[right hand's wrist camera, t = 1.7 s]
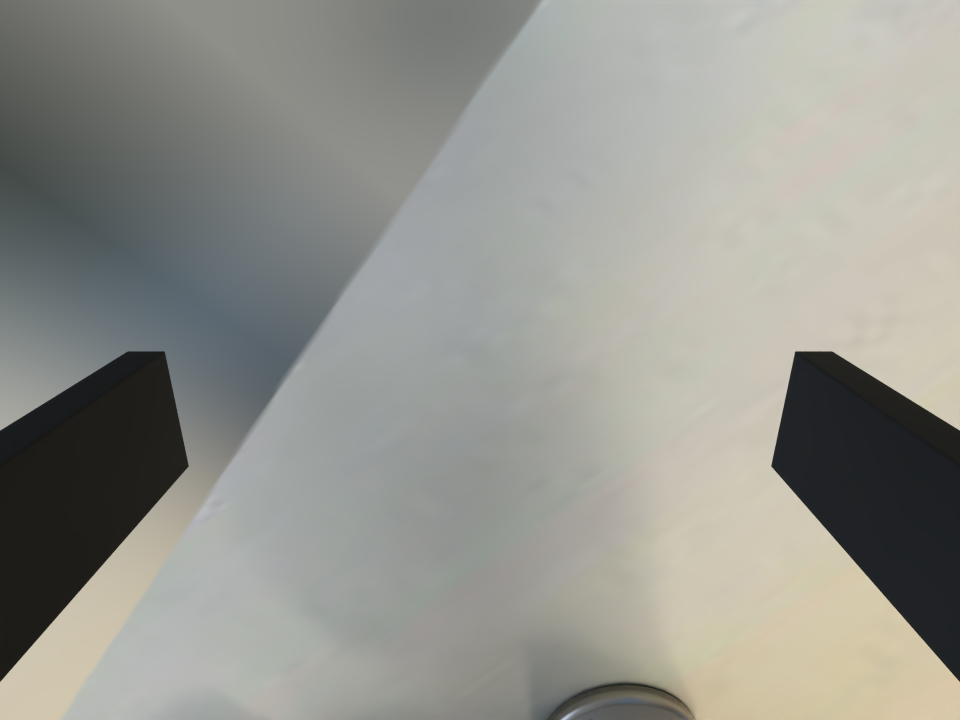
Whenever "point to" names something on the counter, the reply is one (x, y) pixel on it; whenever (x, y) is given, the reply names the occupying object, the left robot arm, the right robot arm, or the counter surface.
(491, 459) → the counter surface
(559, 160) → the counter surface
